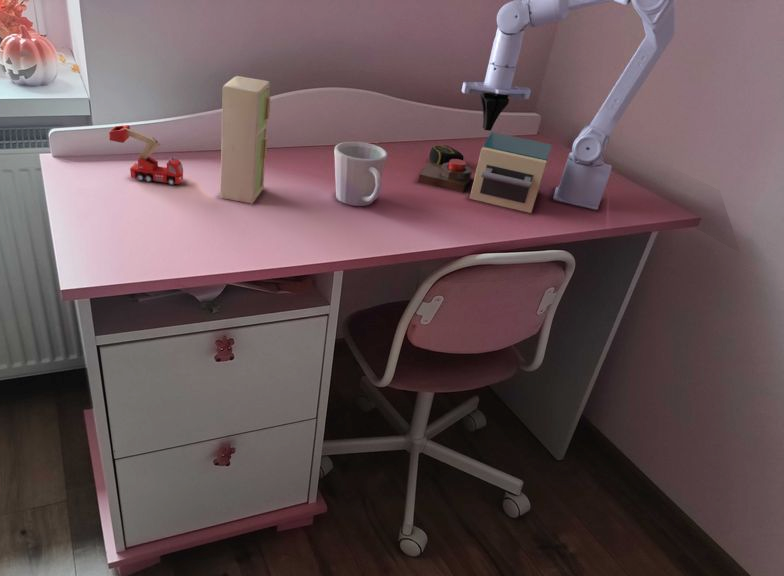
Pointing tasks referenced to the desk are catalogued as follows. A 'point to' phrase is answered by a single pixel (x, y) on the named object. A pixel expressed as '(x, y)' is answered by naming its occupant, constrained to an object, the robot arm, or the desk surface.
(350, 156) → the mug
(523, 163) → the oven door
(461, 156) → the tape measure
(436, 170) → the timer block
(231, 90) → the toy refrigerator
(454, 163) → the button
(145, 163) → the toy fire truck
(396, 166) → the desk surface
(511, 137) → the toy oven
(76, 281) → the desk surface
